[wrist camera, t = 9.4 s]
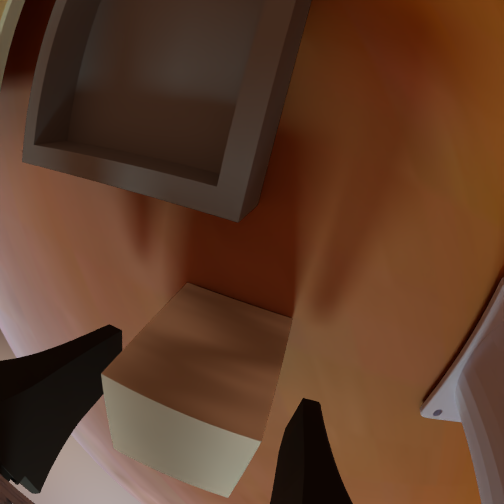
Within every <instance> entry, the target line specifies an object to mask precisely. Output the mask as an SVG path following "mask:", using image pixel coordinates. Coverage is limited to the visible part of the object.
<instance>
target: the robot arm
mask: <svg viewBox="0 0 504 504" xmlns="http://www.w3.org/2000/svg"><path fill="white" fill-rule="evenodd" d="M121 352H122V330H120V329H118V328H116V327H114V326H112V325H110V324H109V325H107V326H104V327H102V328H100V329H97V330H95V331H93V332H91V333H88V334H86V335H84V336H81V337H79V338H77V339H74V340H72V341H69V342H67V343H65V344H62V345H59V346H56V347H54V348H51V349H48V350H45V351H42V352H39V353H36V354H32V355H29V356H24V357H20V358H16V359H9V360H3V361H0V504H12V503H13V504H34V503H33V502H32V501H31V500H29V499H28V498H27V497H26V496H24V495H23V494H22V493H21V492H20V491H18V490H17V489H16V488H15V487H14V486H13V485H12V484H10V483H9V481H10V479H11V480H12V481H13V482H14V483H15V484H17V485H18V484H19V483H20V484H21V485H23V486H24V487H25V488H26V489H27V490H29V491H30V492H31V493H35V494H36V493H40V492H41V489H42V487H43V485H44V482H45V480H46V478H47V476H48V473H49V471H50V469H51V467H52V465H53V464H54V462H55V460H56V458H57V456H58V454H59V452H60V450H61V449H62V447H63V446H64V444H65V442H66V441H67V439H68V438H69V436H70V435H71V433H72V431H73V430H74V428H75V427H76V426H77V424H78V423H79V422H80V420H81V419H82V418H83V417H84V416H85V414H86V413H87V412H88V411H89V410H90V409H91V408H92V406H93V405H94V404H95V403H96V402H97V401H98V399H99V398H100V397H101V396H102V395H103V394H104V392H103V385H102V377H101V373H102V372H103V371H104V370H105V369H106V368H107V367H108V366H109V364H110V363H111V362H112V361H113V360H114V359H115V358H116V357H117V356H118V355H119V354H120V353H121ZM420 413H421V415H422V417H426V418H433V419H440V420H448V421H457V422H462V425H463V428H464V431H465V435H466V438H467V442H468V446H469V449H470V453H471V457H472V461H473V465H474V469H475V474H476V478H477V483H478V488H479V493H480V498H481V504H504V277H503V278H502V279H501V281H500V283H499V285H498V287H497V289H496V291H495V293H494V295H493V297H492V299H491V301H490V302H489V304H488V306H487V308H486V310H485V312H484V314H483V315H482V317H481V319H480V321H479V323H478V324H477V326H476V328H475V329H474V331H473V333H472V334H471V336H470V338H469V339H468V341H467V343H466V344H465V346H464V347H463V349H462V350H461V352H460V353H459V355H458V357H457V358H456V360H455V361H454V362H453V364H452V365H451V367H450V368H449V370H448V371H447V373H446V374H445V375H444V377H443V378H442V380H441V381H440V382H439V384H438V385H437V386H436V388H435V389H434V390H433V392H432V393H431V394H430V395H429V397H428V398H427V399H426V401H425V402H424V403H423V404H422V405H421V407H420ZM270 504H353V503H352V501H351V499H350V497H349V495H348V493H347V491H346V489H345V486H344V484H343V482H342V479H341V477H340V474H339V472H338V469H337V466H336V463H335V460H334V457H333V454H332V451H331V447H330V444H329V441H328V437H327V433H326V429H325V425H324V420H323V416H322V411H321V405H320V403H319V402H317V401H313V400H309V399H305V398H303V399H302V401H301V402H300V404H299V406H298V408H297V410H296V411H295V413H294V415H293V416H292V418H291V420H290V422H289V423H288V425H287V427H286V428H285V432H284V435H283V439H282V442H281V446H280V450H279V455H278V461H277V467H276V473H275V479H274V485H273V491H272V497H271V501H270Z"/></svg>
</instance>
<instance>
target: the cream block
mask: <svg viewBox="0 0 504 504" xmlns="http://www.w3.org/2000/svg"><path fill="white" fill-rule="evenodd" d="M292 320H293V319H292V318H289V317H286V316H283V315H280V314H277V313H273V312H270V311H267V310H264V309H261V308H258V307H255V306H252V305H250V304H247V303H244V302H241V301H238V300H235V299H232V298H229V297H226V296H224V295H221V294H218V293H215V292H212V291H209V290H207V289H204V288H201V287H198V286H196V285H193V284H190V283H186V284H185V285H184V286H183V288H182V289H181V290H180V291H179V292H178V293H177V294H176V295H175V296H174V297H173V298H172V299H171V300H170V301H169V302H168V303H167V304H166V305H165V306H164V307H163V308H162V309H161V310H160V311H159V312H158V314H157V315H156V316H155V317H154V318H153V319H152V320H151V321H150V322H149V323H148V324H147V325H146V326H145V327H144V328H143V329H142V330H141V331H140V332H139V334H138V335H137V336H136V337H135V338H134V339H133V340H132V341H131V342H130V343H129V344H128V345H127V346H126V347H125V348H124V349H123V351H122V352H121V353H120V354H119V355H118V356H117V357H116V358H115V359H114V360H113V361H112V362H111V363H110V364H109V366H108V367H107V368H106V369H105V370H104V371H103V372H102V373H101V377H102V385H103V392H104V399H105V405H106V411H107V417H108V422H109V428H110V433H111V438H112V442H113V447H114V449H115V450H117V451H119V452H121V453H123V454H124V455H126V456H128V457H130V458H132V459H134V460H136V461H138V462H140V463H142V464H144V465H146V466H148V467H150V468H153V469H155V470H157V471H159V472H161V473H164V474H166V475H168V476H171V477H173V478H175V479H178V480H180V481H183V482H185V483H188V484H190V485H193V486H196V487H198V488H201V489H204V490H207V491H209V492H212V493H215V494H218V495H221V496H224V497H229V495H230V494H231V492H232V490H233V489H234V487H235V486H236V484H237V482H238V481H239V479H240V477H241V476H242V474H243V472H244V471H245V469H246V467H247V466H248V464H249V462H250V461H251V459H252V457H253V455H254V454H255V452H256V450H257V448H258V447H259V445H260V443H261V441H262V438H263V434H264V431H265V427H266V423H267V420H268V416H269V412H270V409H271V405H272V401H273V397H274V394H275V390H276V386H277V382H278V378H279V374H280V370H281V366H282V362H283V358H284V354H285V350H286V345H287V341H288V337H289V333H290V328H291V324H292Z"/></svg>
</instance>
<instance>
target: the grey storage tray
mask: <svg viewBox="0 0 504 504" xmlns="http://www.w3.org/2000/svg"><path fill="white" fill-rule="evenodd" d="M310 4H311V0H56V2H55V5H54V7H53V10H52V13H51V16H50V19H49V22H48V25H47V28H46V31H45V35H44V38H43V41H42V45H41V49H40V52H39V56H38V60H37V64H36V69H35V73H34V78H33V83H32V88H31V93H30V99H29V105H28V111H27V118H26V126H25V135H24V145H23V158H22V162H24V163H28V164H32V165H36V166H40V167H44V168H48V169H52V170H55V171H59V172H63V173H67V174H70V175H74V176H78V177H82V178H85V179H89V180H93V181H96V182H100V183H104V184H107V185H111V186H114V187H118V188H122V189H125V190H129V191H132V192H136V193H139V194H143V195H146V196H150V197H153V198H157V199H160V200H164V201H167V202H171V203H174V204H177V205H181V206H184V207H188V208H191V209H194V210H198V211H201V212H205V213H208V214H211V215H215V216H218V217H221V218H225V219H228V220H231V221H234V222H239V221H240V220H242V219H243V218H244V217H245V216H246V215H247V214H248V213H249V212H250V211H251V210H253V209H254V208H255V207H256V206H257V205H258V201H259V198H260V194H261V190H262V186H263V182H264V178H265V174H266V171H267V167H268V163H269V159H270V155H271V151H272V147H273V144H274V140H275V136H276V132H277V128H278V124H279V121H280V117H281V113H282V109H283V105H284V102H285V98H286V94H287V90H288V86H289V83H290V79H291V75H292V71H293V68H294V64H295V60H296V56H297V53H298V49H299V45H300V41H301V38H302V34H303V30H304V26H305V23H306V19H307V15H308V11H309V8H310Z"/></svg>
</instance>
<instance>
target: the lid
mask: <svg viewBox="0 0 504 504" xmlns="http://www.w3.org/2000/svg"><path fill="white" fill-rule="evenodd" d="M24 2H25V0H0V90H1V85H2V80H3V75H4V70H5V65H6V61H7V57H8V53H9V49H10V46H11V42H12V38H13V35H14V32H15V28H16V25H17V22H18V19H19V16H20V13H21V10H22V8H23V5H24Z"/></svg>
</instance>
